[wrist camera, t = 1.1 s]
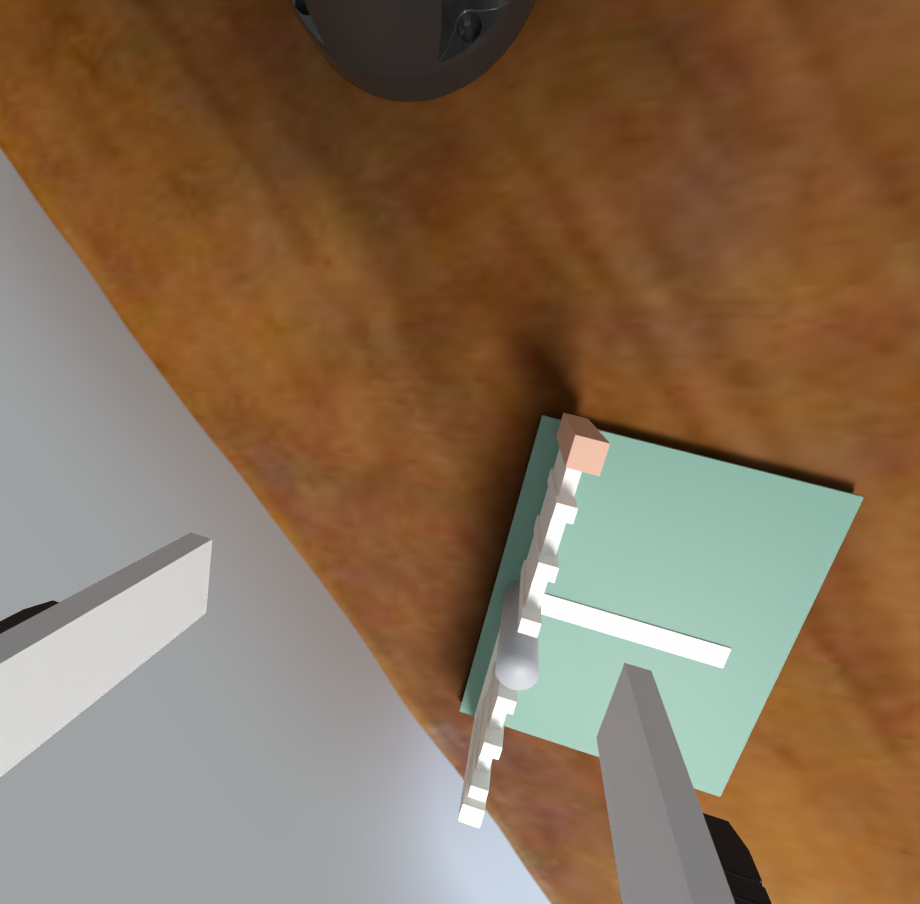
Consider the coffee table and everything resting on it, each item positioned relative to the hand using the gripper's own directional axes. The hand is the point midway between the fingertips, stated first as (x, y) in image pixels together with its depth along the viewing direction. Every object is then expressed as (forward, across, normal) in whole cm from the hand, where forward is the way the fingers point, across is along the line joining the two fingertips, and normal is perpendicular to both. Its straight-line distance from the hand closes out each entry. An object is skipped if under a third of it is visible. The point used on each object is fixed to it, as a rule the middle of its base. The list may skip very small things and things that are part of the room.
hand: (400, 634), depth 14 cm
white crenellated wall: (+17, +5, 0) cm, 18 cm away
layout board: (+18, +13, -7) cm, 24 cm away
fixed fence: (+18, +5, -13) cm, 23 cm away
